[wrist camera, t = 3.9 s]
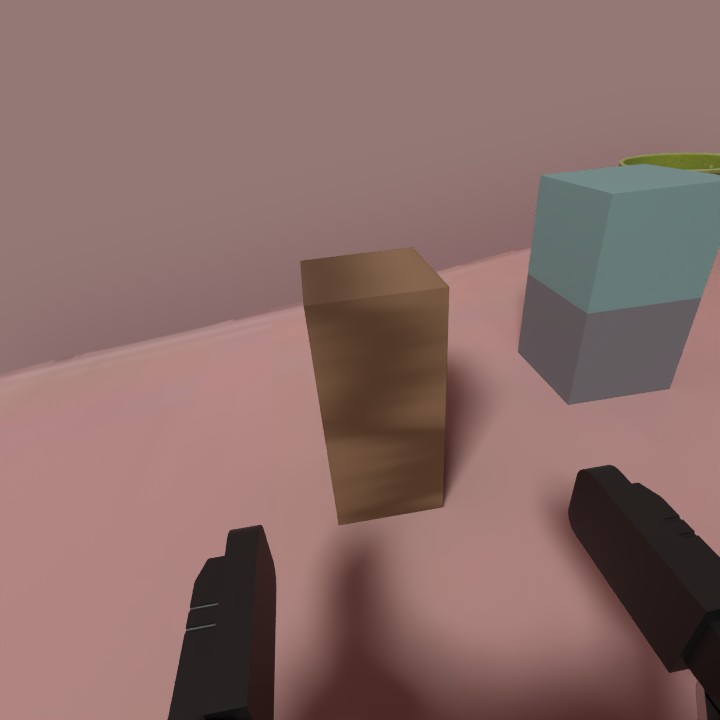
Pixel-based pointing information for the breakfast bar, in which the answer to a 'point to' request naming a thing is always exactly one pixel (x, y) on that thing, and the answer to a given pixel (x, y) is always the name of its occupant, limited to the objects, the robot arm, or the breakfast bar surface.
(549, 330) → the tower base
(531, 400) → the breakfast bar surface
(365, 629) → the breakfast bar surface
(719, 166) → the plant pot
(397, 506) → the walnut pillar
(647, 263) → the tower top
